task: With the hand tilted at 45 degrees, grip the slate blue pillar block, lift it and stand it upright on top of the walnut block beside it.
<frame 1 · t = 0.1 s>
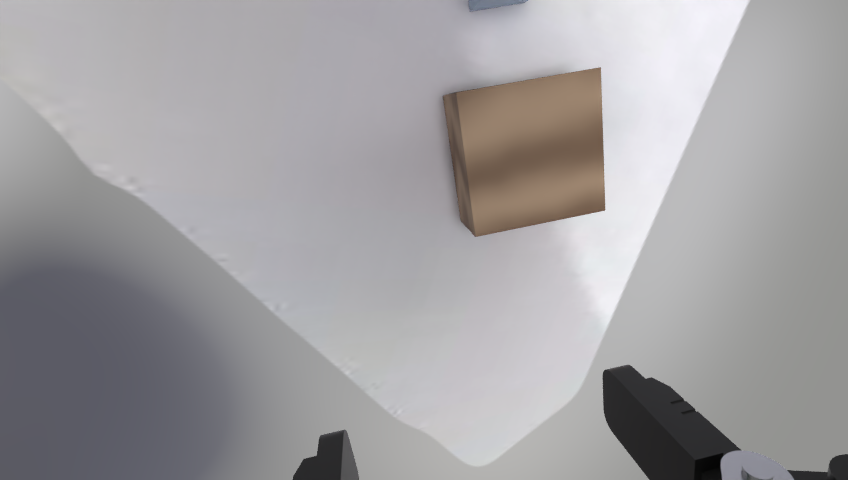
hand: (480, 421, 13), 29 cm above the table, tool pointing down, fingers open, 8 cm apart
walnut block: (511, 149, 40), on the table
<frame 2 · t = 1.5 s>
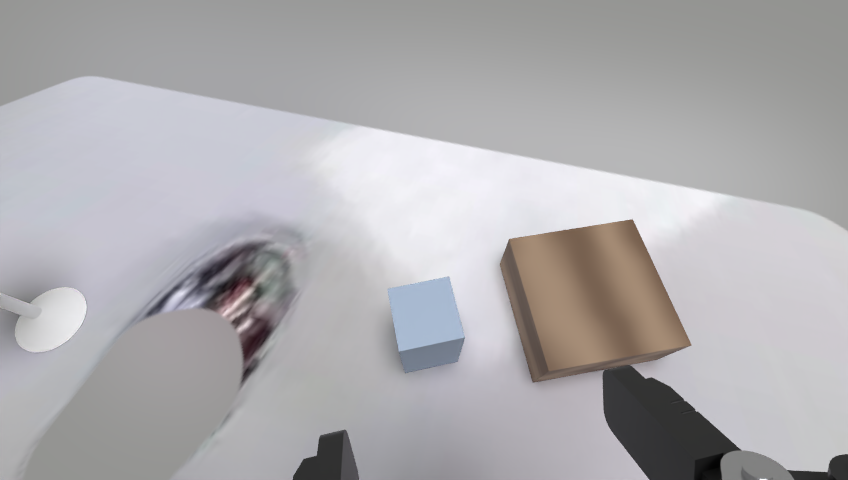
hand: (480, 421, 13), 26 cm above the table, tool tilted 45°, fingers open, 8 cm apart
walnut block: (573, 310, 41), on the table
champagne flute: (52, 319, 41), on the table
slate blue pillar block: (425, 341, 40), on the table
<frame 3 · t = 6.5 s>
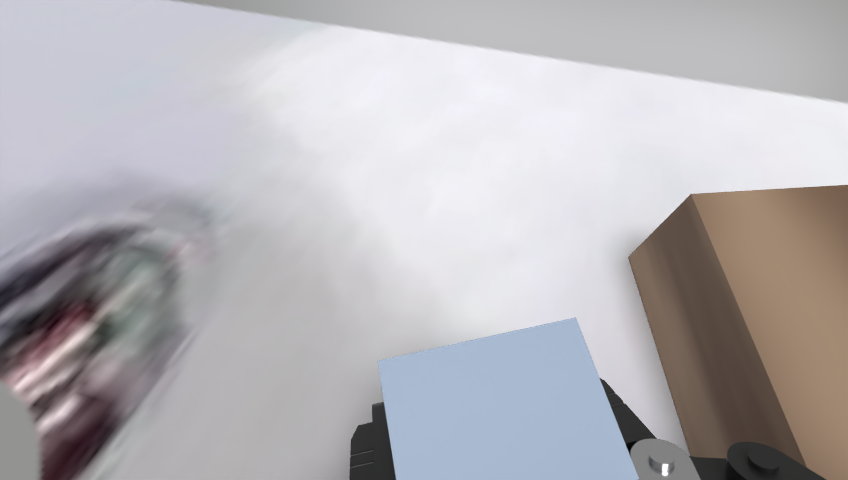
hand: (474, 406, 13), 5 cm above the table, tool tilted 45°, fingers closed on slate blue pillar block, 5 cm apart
walnut block: (797, 373, 18), on the table
slate blue pillar block: (472, 452, 17), on the table, touching gripper
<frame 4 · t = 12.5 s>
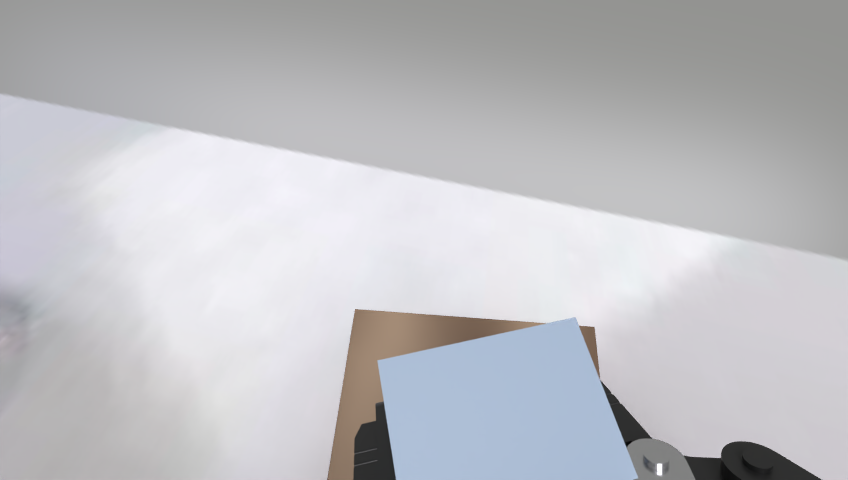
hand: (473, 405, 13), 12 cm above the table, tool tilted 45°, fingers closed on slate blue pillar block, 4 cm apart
walnut block: (460, 452, 23), on the table
slate blue pillar block: (472, 451, 17), point 7 cm above the table, touching gripper
when the fingers open (12 cm above the table, at t = 12.7 s): slate blue pillar block drops 1 cm, point 6 cm above the table.
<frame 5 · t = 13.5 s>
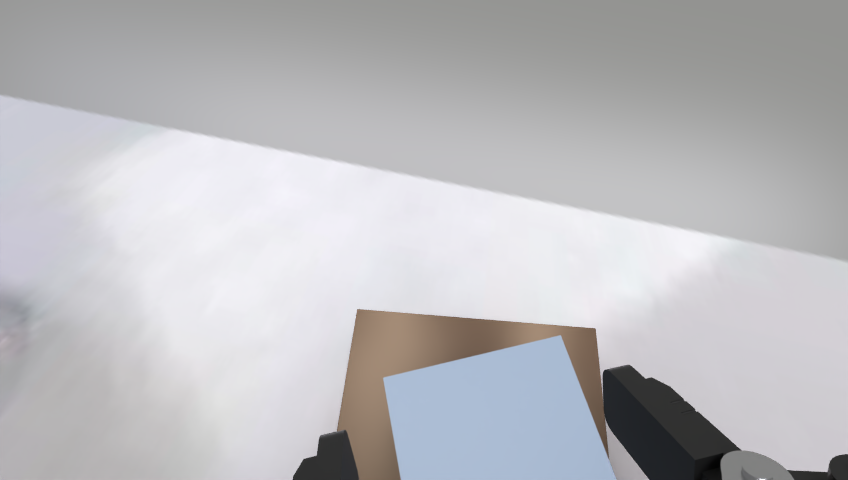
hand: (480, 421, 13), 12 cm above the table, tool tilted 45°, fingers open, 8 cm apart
walnut block: (461, 452, 24), on the table
slate blue pillar block: (471, 456, 18), point 6 cm above the table
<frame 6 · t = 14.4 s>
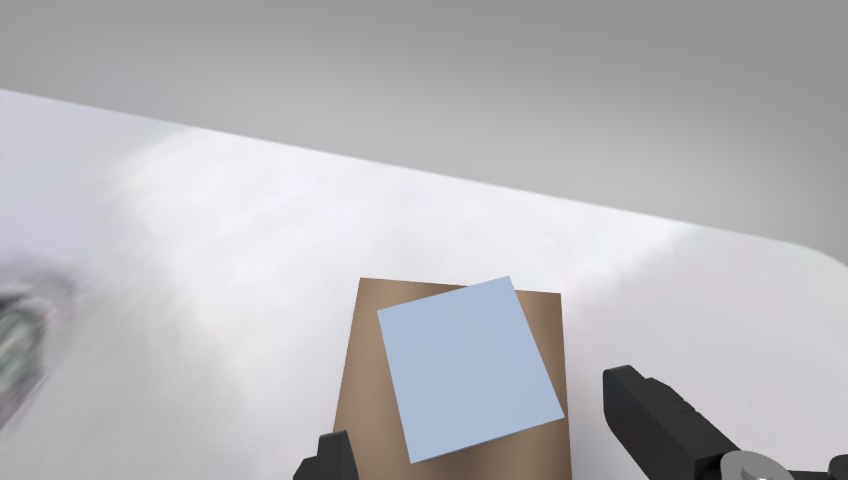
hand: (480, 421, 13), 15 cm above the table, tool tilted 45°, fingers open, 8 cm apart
walnut block: (449, 403, 27), on the table
slate blue pillar block: (455, 396, 22), point 6 cm above the table
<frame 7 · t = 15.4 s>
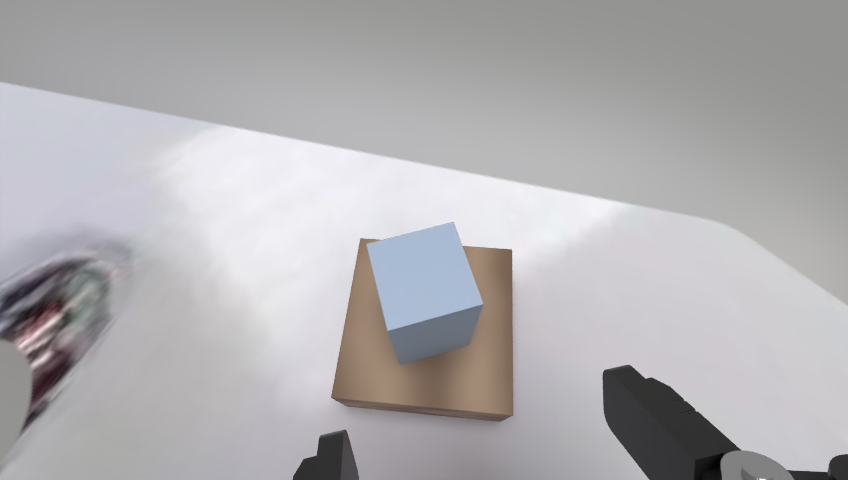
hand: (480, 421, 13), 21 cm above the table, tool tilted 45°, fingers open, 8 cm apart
walnut block: (429, 338, 35), on the table, touching slate blue pillar block
slate blue pillar block: (425, 321, 30), point 6 cm above the table, touching walnut block
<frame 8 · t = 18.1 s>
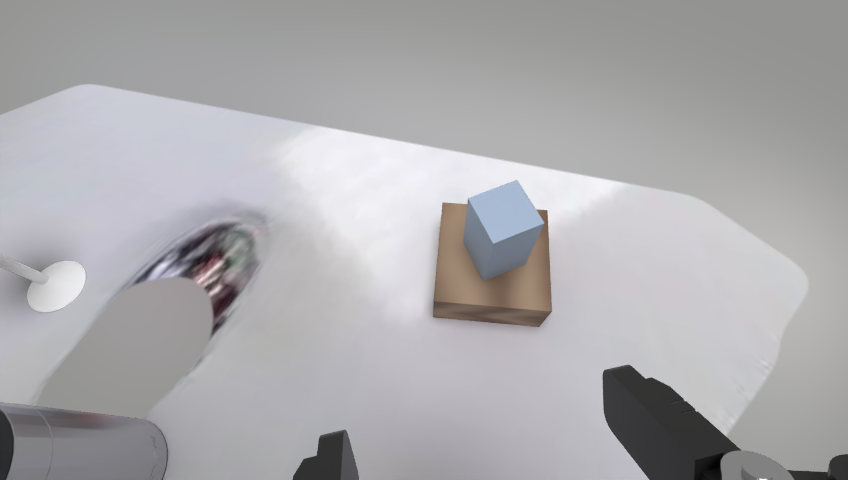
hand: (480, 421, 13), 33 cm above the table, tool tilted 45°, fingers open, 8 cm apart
walnut block: (486, 274, 50), on the table
champagne flute: (58, 286, 50), on the table
slate blue pillar block: (493, 253, 45), point 6 cm above the table
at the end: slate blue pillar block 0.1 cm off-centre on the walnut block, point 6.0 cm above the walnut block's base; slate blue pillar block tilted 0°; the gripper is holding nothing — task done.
